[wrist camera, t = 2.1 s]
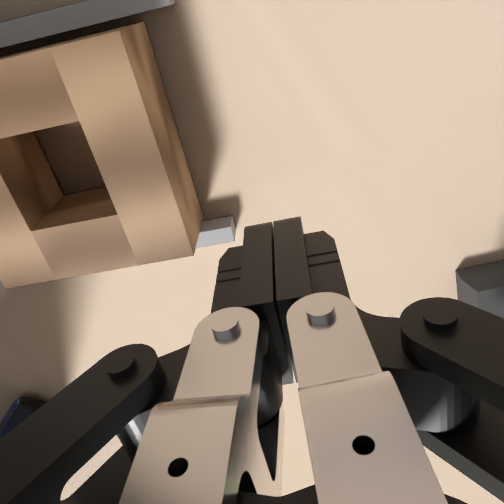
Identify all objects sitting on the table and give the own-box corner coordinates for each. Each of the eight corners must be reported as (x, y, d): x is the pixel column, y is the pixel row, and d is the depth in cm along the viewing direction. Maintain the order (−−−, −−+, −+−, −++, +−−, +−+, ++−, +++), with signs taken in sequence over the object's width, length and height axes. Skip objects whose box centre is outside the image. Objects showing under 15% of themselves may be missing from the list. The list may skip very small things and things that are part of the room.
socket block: (-56, 70, 24) (-117, 89, 20) (143, 21, 22) (119, 30, 19) (39, 247, 29) (5, 288, 26) (203, 216, 28) (193, 255, 24)
